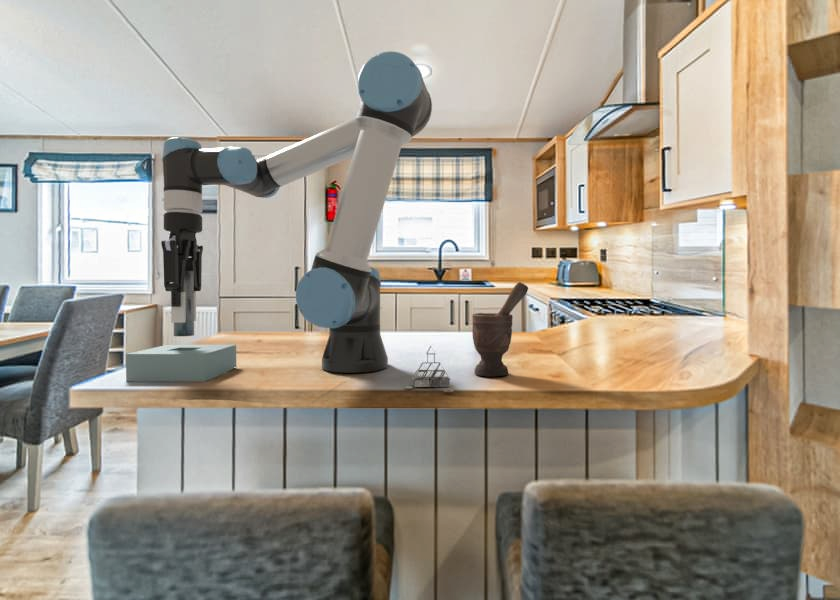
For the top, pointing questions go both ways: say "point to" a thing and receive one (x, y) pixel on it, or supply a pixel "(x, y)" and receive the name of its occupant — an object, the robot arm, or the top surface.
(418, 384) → the house of cards
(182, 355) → the bore block
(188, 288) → the pin
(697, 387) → the top surface
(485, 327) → the mortar and pestle
